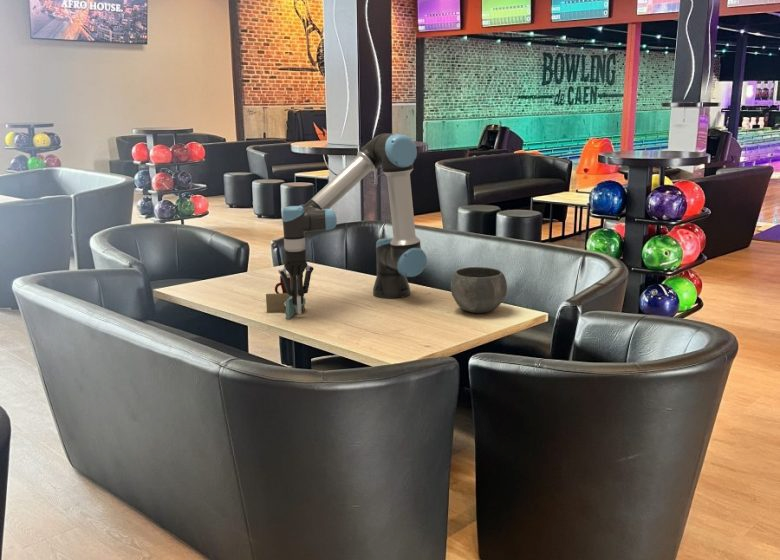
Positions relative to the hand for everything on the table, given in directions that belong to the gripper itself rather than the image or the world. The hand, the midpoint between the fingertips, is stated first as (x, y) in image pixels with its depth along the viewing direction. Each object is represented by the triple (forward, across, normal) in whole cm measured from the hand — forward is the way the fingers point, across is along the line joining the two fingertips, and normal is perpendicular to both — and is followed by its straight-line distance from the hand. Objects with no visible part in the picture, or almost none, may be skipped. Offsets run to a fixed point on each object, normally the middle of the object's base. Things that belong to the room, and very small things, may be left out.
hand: (298, 312), depth 283 cm
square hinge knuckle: (+2, +2, -10) cm, 10 cm away
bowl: (+2, -61, +27) cm, 66 cm away
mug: (+2, -5, -25) cm, 26 cm away
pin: (+2, -2, -8) cm, 8 cm away
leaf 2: (+1, 0, -4) cm, 5 cm away
